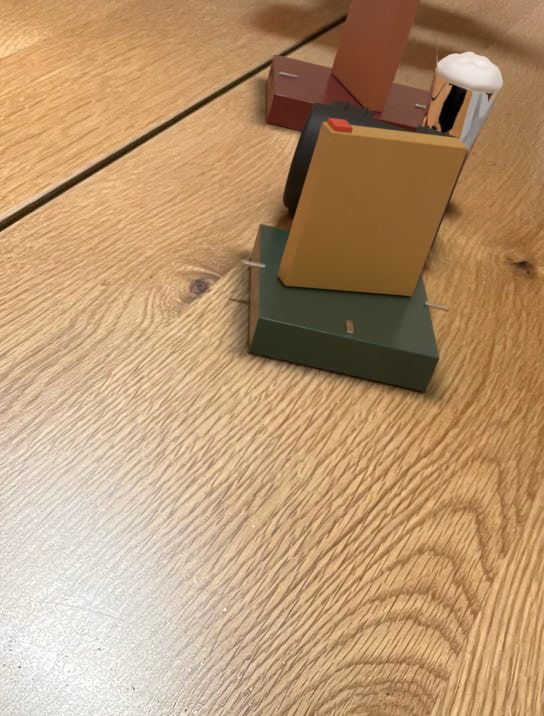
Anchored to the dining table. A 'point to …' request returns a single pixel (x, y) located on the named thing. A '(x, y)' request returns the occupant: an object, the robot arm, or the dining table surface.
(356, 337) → the green pinned base
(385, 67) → the upright brown plank
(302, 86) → the dark red base box
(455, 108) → the milkshake
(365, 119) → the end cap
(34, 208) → the dining table surface
